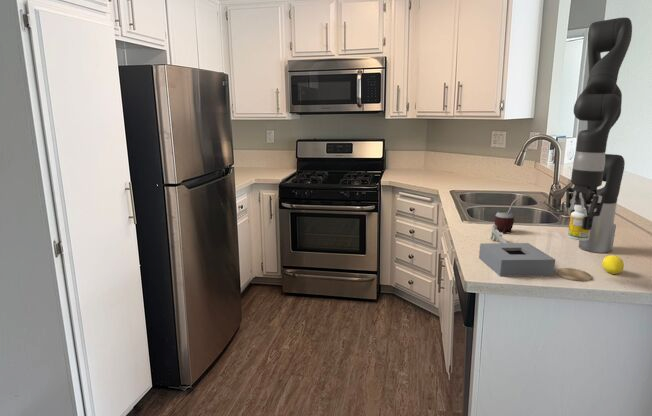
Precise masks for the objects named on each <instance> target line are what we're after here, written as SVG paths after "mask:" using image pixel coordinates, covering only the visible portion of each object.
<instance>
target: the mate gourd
mask: <svg viewBox="0 0 652 416" xmlns="http://www.w3.org/2000/svg"><path fill="white" fill-rule="evenodd" d="M520 199H521V197H518V198H515V199H514V200H513V201H512V202H511V205H510V207H509V209H508V211H507V210H504V211H503V210H501V211H500V210H499V211H497V212H496V214H495V216H494V225H496V226H497V230H498V231H499V232H500V233H501V234H502V235H506V232H509V234H510V233H512V228H513V226H514V222H515V216H514V214H513V212H511V210H512V207H513V206H514V205H515V203H516V202H517V201H518V200H520Z"/></svg>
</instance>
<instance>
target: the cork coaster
mask: <svg viewBox="0 0 652 416" xmlns="http://www.w3.org/2000/svg"><path fill="white" fill-rule="evenodd" d="M555 274H556V275H557V276H559V277H560V278H562V279H565V280H568V281H573V282H574V281H575V282H588V281H590V279H591V280H592V274H590V273H588V272H586V271H584V270H582V269H576V268H572V267H569V268H568V267H561V268H558V269H556V270H555Z"/></svg>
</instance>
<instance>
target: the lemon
mask: <svg viewBox="0 0 652 416" xmlns="http://www.w3.org/2000/svg"><path fill="white" fill-rule="evenodd" d="M624 265H625V264H624V261H623V259H622V258H621V257H619V256H618V255H611V254H610V255H607V256H605V257H604V258H603V260H602V263H601V266H602V267H603V268H602V269H603V270H604V271H605V272H607V273H608V272H609V274H612V275H615V274H616V275H617V274H619V273H621V272H622V271H624V267H625V266H624Z"/></svg>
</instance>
